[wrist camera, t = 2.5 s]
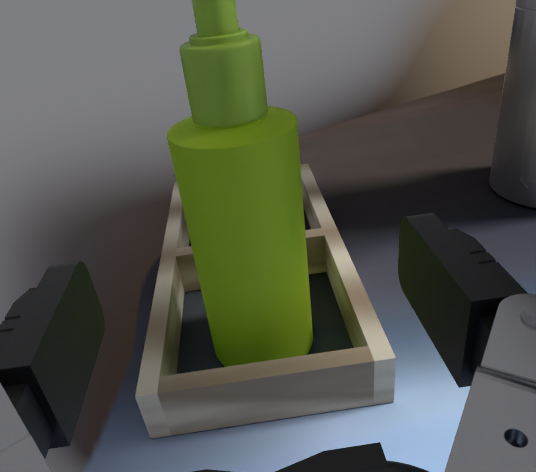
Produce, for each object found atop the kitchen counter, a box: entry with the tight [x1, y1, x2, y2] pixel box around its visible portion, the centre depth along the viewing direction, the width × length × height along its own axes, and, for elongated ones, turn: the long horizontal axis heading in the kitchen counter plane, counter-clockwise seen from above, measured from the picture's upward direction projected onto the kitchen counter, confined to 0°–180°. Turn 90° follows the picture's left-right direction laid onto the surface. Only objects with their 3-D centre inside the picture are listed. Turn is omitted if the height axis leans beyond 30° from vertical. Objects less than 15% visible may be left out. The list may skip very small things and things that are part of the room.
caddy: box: [135, 164, 396, 439], centre depth 32 cm, size 24×12×3 cm, turn 6°
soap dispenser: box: [167, 0, 313, 367], centre depth 23 cm, size 6×7×20 cm
